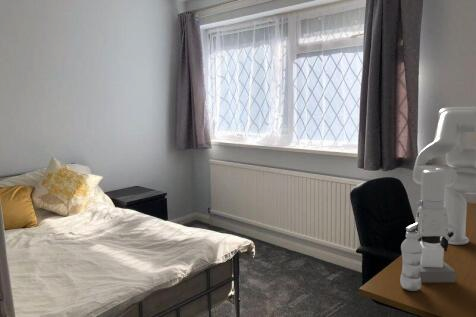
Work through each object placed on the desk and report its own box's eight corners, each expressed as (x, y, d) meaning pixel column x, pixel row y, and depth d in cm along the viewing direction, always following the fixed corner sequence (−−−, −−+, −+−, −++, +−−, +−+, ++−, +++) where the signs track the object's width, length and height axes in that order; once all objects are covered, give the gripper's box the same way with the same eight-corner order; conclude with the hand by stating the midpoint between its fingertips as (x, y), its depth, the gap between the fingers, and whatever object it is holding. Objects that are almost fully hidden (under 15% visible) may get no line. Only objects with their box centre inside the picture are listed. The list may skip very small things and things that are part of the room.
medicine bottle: (443, 268, 137) (445, 235, 135) (421, 267, 138) (423, 235, 136) (437, 260, 144) (438, 229, 142) (416, 259, 145) (417, 228, 143)
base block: (405, 266, 148) (405, 256, 148) (437, 266, 148) (438, 256, 147) (419, 282, 135) (420, 271, 135) (455, 282, 135) (455, 271, 134)
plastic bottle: (412, 295, 127) (414, 236, 124) (395, 287, 133) (397, 231, 130) (425, 290, 130) (427, 233, 127) (408, 282, 136) (410, 227, 133)
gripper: (411, 207, 134) (409, 254, 137) (462, 206, 133) (460, 253, 136) (403, 201, 142) (402, 246, 144) (451, 200, 141) (449, 245, 143)
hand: (430, 249), depth 140 cm, fingers open, 9 cm apart
